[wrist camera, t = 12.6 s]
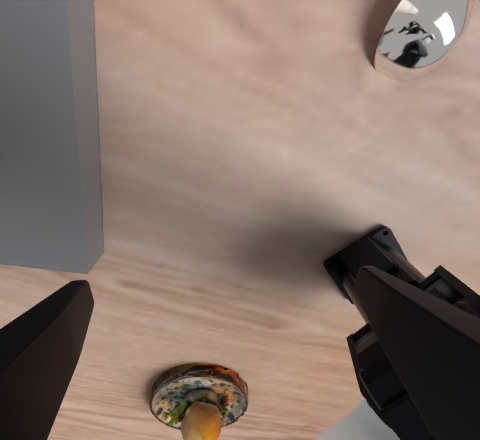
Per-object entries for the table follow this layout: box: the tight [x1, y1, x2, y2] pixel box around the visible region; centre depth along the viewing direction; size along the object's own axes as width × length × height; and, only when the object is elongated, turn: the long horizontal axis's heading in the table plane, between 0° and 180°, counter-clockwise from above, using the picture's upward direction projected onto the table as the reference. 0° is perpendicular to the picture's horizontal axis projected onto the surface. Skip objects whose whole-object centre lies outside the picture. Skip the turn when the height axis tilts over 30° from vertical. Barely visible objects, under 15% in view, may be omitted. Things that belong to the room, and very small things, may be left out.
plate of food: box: [150, 363, 248, 440], centre depth 29 cm, size 12×12×8 cm
